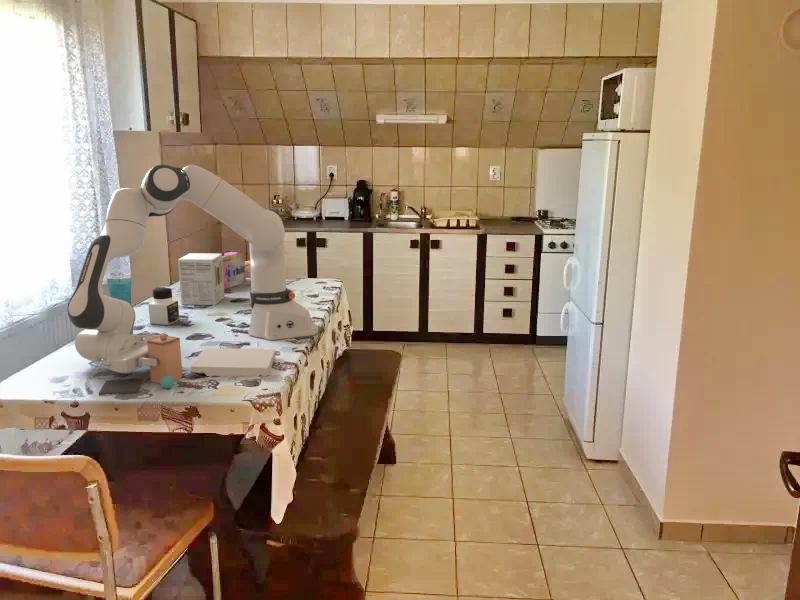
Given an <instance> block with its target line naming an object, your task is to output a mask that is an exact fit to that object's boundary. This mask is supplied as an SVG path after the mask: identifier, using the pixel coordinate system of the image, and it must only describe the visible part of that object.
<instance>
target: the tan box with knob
mask: <svg viewBox="0 0 800 600" xmlns="http://www.w3.org/2000/svg"><path fill="white" fill-rule="evenodd" d="M159 335H160V336H159V337H157V338H154V339H151V340H149V341H147V345H148V356H149V358H154V357H155V358H159V360H160V361H159V362H160V364H159V365H157V366H148V367H149V378H150V382H152V383H157V384H160V381H161V379H162V378H163V377H164V376H170V377H172V378H173V380H174V382H176V381H178V379H179V380H180V378H181V379H183V378H182V377H183V364H182V354H181V353H182V352H181V341H180V339H181V338H180V337H176V336H171V335H167V334H166V333H161V334H159Z"/></svg>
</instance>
